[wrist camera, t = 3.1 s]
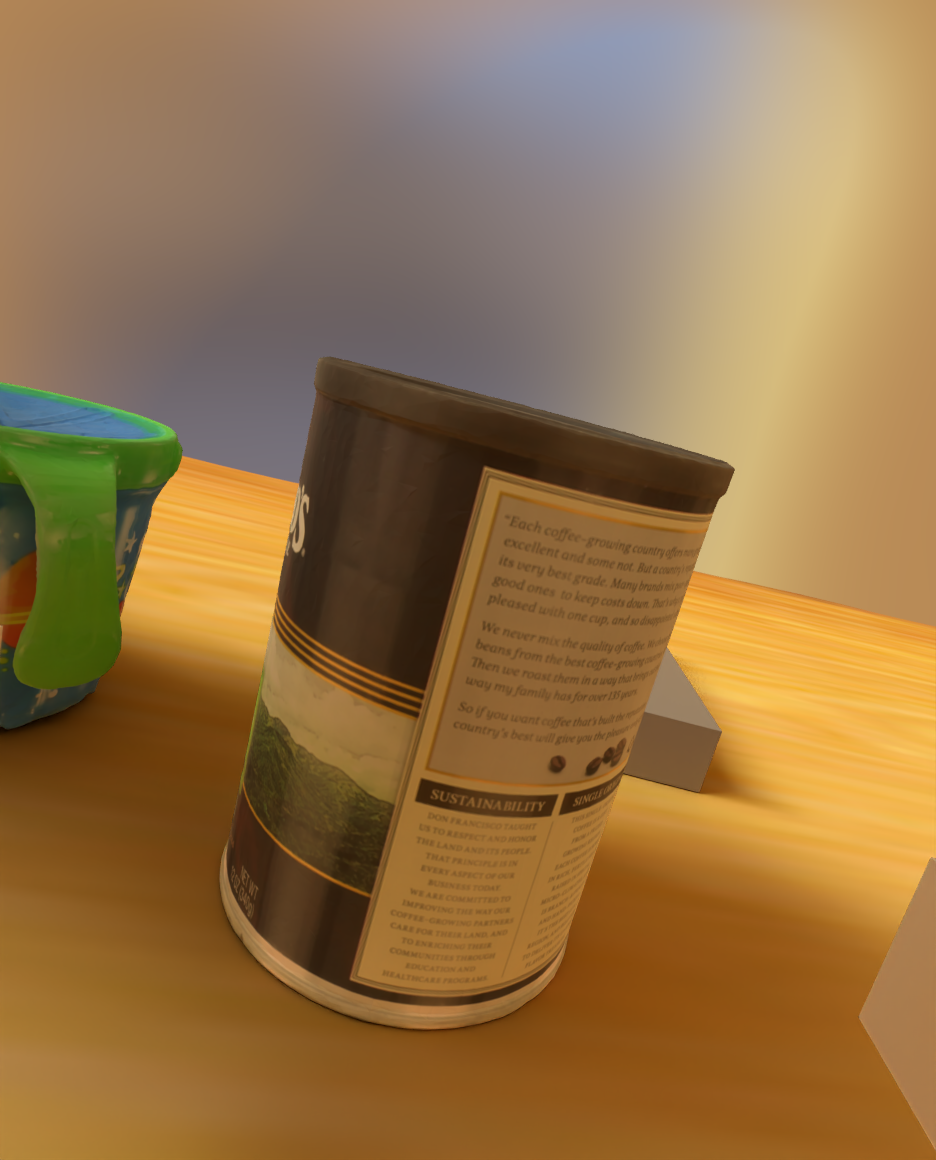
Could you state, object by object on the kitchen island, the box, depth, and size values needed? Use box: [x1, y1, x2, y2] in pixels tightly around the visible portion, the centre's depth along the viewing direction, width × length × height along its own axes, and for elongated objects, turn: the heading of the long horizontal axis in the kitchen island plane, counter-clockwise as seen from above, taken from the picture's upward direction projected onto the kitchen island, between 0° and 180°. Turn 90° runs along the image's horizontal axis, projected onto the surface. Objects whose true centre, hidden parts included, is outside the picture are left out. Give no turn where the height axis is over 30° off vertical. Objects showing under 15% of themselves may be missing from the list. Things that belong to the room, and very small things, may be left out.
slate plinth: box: [624, 648, 722, 792], centre depth 42 cm, size 18×20×3 cm
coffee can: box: [220, 357, 735, 1030], centre depth 20 cm, size 10×10×14 cm
